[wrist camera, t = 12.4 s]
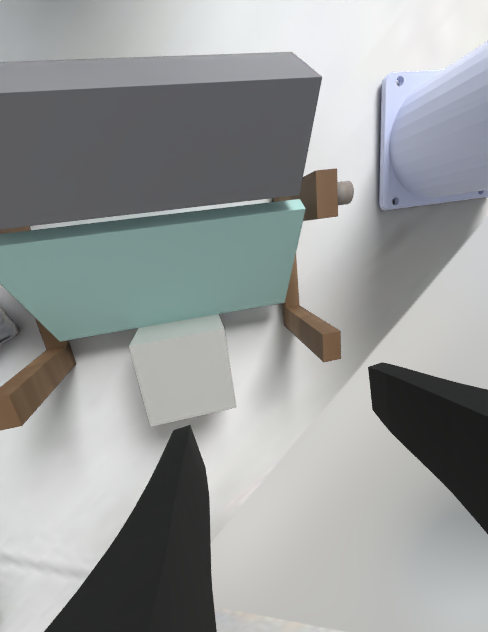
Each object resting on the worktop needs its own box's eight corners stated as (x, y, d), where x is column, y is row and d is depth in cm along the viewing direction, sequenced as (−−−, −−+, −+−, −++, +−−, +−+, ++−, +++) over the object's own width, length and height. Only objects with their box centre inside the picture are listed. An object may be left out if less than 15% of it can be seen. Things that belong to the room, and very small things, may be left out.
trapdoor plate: (304, 51, 11) (337, 76, 9) (272, 271, 20) (285, 303, 18) (-127, 66, 9) (-191, 102, 7) (66, 303, 18) (59, 342, 16)
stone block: (224, 328, 15) (236, 407, 17) (215, 306, 20) (225, 369, 21) (128, 346, 14) (150, 426, 16) (143, 318, 19) (159, 382, 21)
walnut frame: (293, 97, 17) (352, 19, 11) (306, 321, 21) (354, 355, 15) (-47, 118, 14) (-224, 29, 8) (47, 369, 19) (-22, 435, 12)
